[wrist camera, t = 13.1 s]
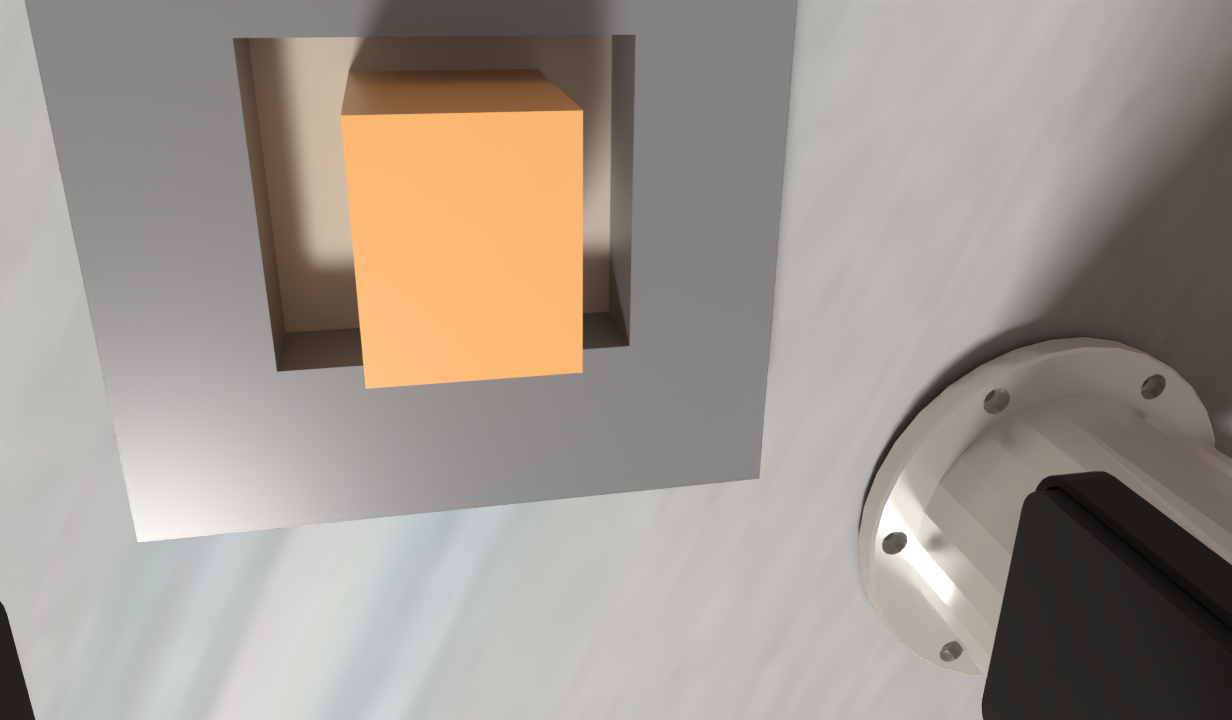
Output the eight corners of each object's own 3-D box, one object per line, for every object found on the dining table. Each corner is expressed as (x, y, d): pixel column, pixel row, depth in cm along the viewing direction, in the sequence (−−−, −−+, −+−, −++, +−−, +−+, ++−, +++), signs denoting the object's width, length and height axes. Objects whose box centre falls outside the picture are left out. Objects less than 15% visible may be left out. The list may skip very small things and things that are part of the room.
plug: (537, 69, 25) (583, 110, 19) (540, 281, 27) (582, 372, 21) (348, 71, 24) (340, 115, 18) (367, 292, 26) (365, 388, 21)
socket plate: (762, -166, 24) (810, -176, 21) (725, 429, 30) (759, 478, 28) (32, -189, 21) (-18, -206, 18) (161, 481, 27) (137, 542, 25)
